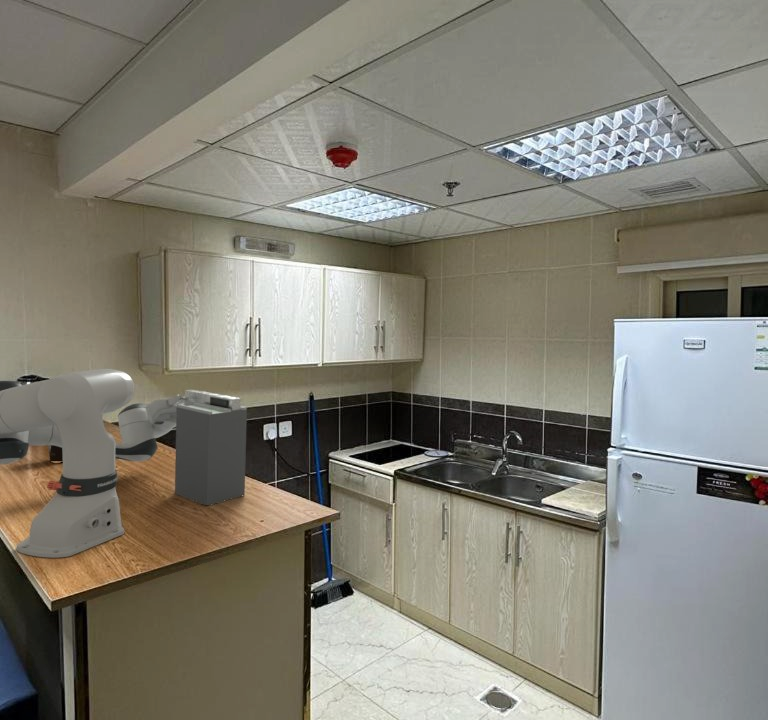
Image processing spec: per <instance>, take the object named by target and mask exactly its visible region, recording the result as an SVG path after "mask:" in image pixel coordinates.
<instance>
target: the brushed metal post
mask: <svg viewBox="0 0 768 720" xmlns="http://www.w3.org/2000/svg"><path fill="white" fill-rule="evenodd" d="M184 397H185V401H186V402H191V403H198V402H199V403H204V404H209V405H214V406H219V407H223V408H228V409H231V411H236V410H241V405H242V403H241V402H242V399H241V397H236V396H229V395H226V394H225V395H224V394H220V393H213V392H209V391H208V392H207V391H204V390H197V389H185V390H184Z"/></svg>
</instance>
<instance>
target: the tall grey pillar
mask: <svg viewBox="0 0 768 720" xmlns="http://www.w3.org/2000/svg"><path fill="white" fill-rule="evenodd" d="M247 414H248V411H247V406H241V410H236V411H231V409H228V408H223V407H219V406H214V405H209V404H204V403H199V402H198V403H193V405H191V406H185V405H180V404H178V405H177V409H176V427H175V460H174V461H175V462H174V463H175V468H174V469H175V470H174V471H175V474H174V494H175V495H178V496H180V497H183V498H184V499H187V498H188V499H187V500H190V499H191V500H190V501H192V500H194V501H193V502H195V501H197V502H199V503H198V504H200V503H202V504H204V505H203V506H205V505H210V506H212V505H211V504H213V505H215V504H214V503H217V504H219V503H218V502H220V503H222V502H221V501H224V500H227V499H231V498H234V499H236V498H235V497H238V498H240V497H239V496H241V497H243V496H242V495H245V487H246V457H247V455H246V454H247V452H246V451H247V450H246V449H247V422H248V421H247V418H248V415H247ZM231 500H232V499H231ZM227 501H228V500H227ZM197 502H196V503H197ZM224 502H225V501H224ZM202 504H201V505H202Z"/></svg>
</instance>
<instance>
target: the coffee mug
mask: <svg viewBox="0 0 768 720" xmlns="http://www.w3.org/2000/svg"><path fill="white" fill-rule="evenodd" d="M47 446H48V447H47V448H48V455H49V461H50V460H51V461H63V453H62V448H61V447H58V446H54V445H47Z"/></svg>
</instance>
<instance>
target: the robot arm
mask: <svg viewBox="0 0 768 720" xmlns="http://www.w3.org/2000/svg"><path fill="white" fill-rule="evenodd" d="M134 394H135V382H134V381H133V379H132V377H131V376H130V375H129V374H128V373H126V372H125V371H122V370H119V369H118V370H117V369H115V368H113V369H112V368H97V369H88V370H81V371H70V372H64V373H62V374H59V375H56V376H53V377H51V378H49V379H45V380H40V381H36V382H35V381H34V382H32V383H31V382H29V383H26V384H22V383H20V382H19V381H16V380H11V379H0V465H10V464H13V463H15V462H18V461H20V460H22V459H23V458H24V457H25V456H27V455H28V450H29V446H48V445H54V446H58V447H61V448H62V453H63V463H62V474H61V475H60V478H59V481H54V480H49V481H48V482H47V484H46V488H47V489H48V490H49V491H52V490H53V491H55V492H56V493H55V495H54V496H53V497H51V499H50V500H49V501H48V502H47V504H45V506H44V507H43V508H42V509H41V510H40V511H39V512H38V514H36V516H34V517H33V519H32V521H31V523H30V528H29V535H28V536H29V537H26V539H24V540H22V541H21V542H19V543H17V544H16V551H17V552H19V553H20V554H24V555H26V556H27V555H28V556H32V557H37V558H38V557H39V558H53V559H55V558H67V557H72V556H74V555H76V554H78V553H81V552H84V551H86V550H88V549H91V548H94V547H96V546H98V545H100V544H102V543H105V542H108V541H110V540H113V539H115V538H118V537H120V536H122V535H124V534H125V532H126V531H125V528H124V527H123V524H122V518H121V517H122V516H121V509H120V508H121V507H120V500H119V496H118V493H117V489H116V487H117V485H118V477H119V476H118V470H117V469H116V460H123V461H128V462H136V463H137V462H144V461H148V460H150V459H152V457H153V456H155V454H156V452H157V450H158V448H159V447H158V443H157V440H156V439H157V438H160V437H162V436H164V435H166V434H168V433H169V432H170V431H172V429H174V428H176V409H177V405H178V404H180V405H185V406H191V405H193V403H191V402H186V401H185V396H183V394H176V395H175V396H172V397H169V398H158V399H154V400H153V401H151V402H150V403H141V402H140V403H132V404H129V403H130V401H132V400H133V398H134ZM127 404H129V405H127ZM126 405H127V406H126ZM124 406H126V407H125V408H123V407H124ZM121 408H123V409H122V410H121V411H120V412H119V413H118V415H117V419H118V427H119V431H120V439H121V443H118V442H116V440H115V438H114V436H113V435H112V434H111V433H109V432H108V431H107V430H106V427H105V424H104V419H103V415H104V414H107V413H112V412H116V411H117V410H119V409H121Z"/></svg>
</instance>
